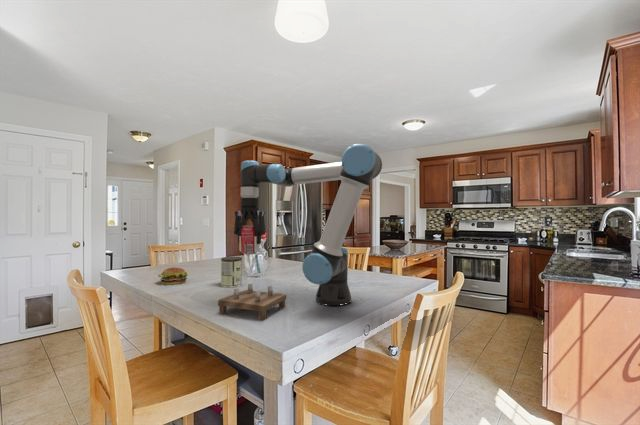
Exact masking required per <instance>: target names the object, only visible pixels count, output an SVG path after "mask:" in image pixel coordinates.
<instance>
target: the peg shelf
mask: <svg viewBox="0 0 640 425" xmlns="http://www.w3.org/2000/svg"><path fill="white" fill-rule="evenodd" d="M253 287H254V286H253V283H248V284H247V289H244V290H241V291H240V289H239V288H234V289H233V294H231V295H228V296H226V297H222V298H221V299H218V302H217V306H218V307H219V309H218V310H219V311H218V314H219V315H225V314H227V309H228V308H233V309H241V310H248V311H253V312H254V311H257V312H258V320H259V321H265V320H266V319H267V311H268V310H269V309H271V308H273V307H275V306H277V305H278V309H283V310H284V309H285V308H286V300H287V293H285V294H284V293H277V292H273V291H274V290H273V286H272V285H268V286H267V291H260V290H254V289H253Z"/></svg>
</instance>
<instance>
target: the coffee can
mask: <svg viewBox="0 0 640 425" xmlns="http://www.w3.org/2000/svg"><path fill="white" fill-rule="evenodd" d="M242 259H243V257H240V256H226V257H225V256H224V257H221V258H220V260H221V262H220V263H221V265H220V266H221V269H220V270H221V271H220V272H221V274H220V276H221V277H220V278H221V280H220V281H221V282H220V286H221V287H222V288H238V287H241V286H242V275H243V273H242V272H243V271H242V269H243V267H242V264H243V262H242Z"/></svg>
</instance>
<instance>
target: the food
mask: <svg viewBox="0 0 640 425" xmlns="http://www.w3.org/2000/svg"><path fill="white" fill-rule="evenodd" d="M157 276H158V278H160V283H161V284H162V285H165V284H166V285H168V286H169V285H171V286H172V285H173V286H174V284H175V285H179V284H180V285H181V284H183V283H184V284H185V283H186V281H187V279H188V278H187V277H188V272H187V271H185V269H184V268H182V267H176V266H175V267H169V268H166V269H164V270H163V271H162V272H161V273H160V274H157ZM166 285H165V286H166Z"/></svg>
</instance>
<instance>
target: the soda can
mask: <svg viewBox="0 0 640 425" xmlns="http://www.w3.org/2000/svg"><path fill="white" fill-rule="evenodd" d="M255 235H256V233H255V230H254V226H253V225H246V226H243V227H242V229H241V251H240V252H241V253H242V254H243V255H255V254H256V253H257V252H254V238H255Z"/></svg>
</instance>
